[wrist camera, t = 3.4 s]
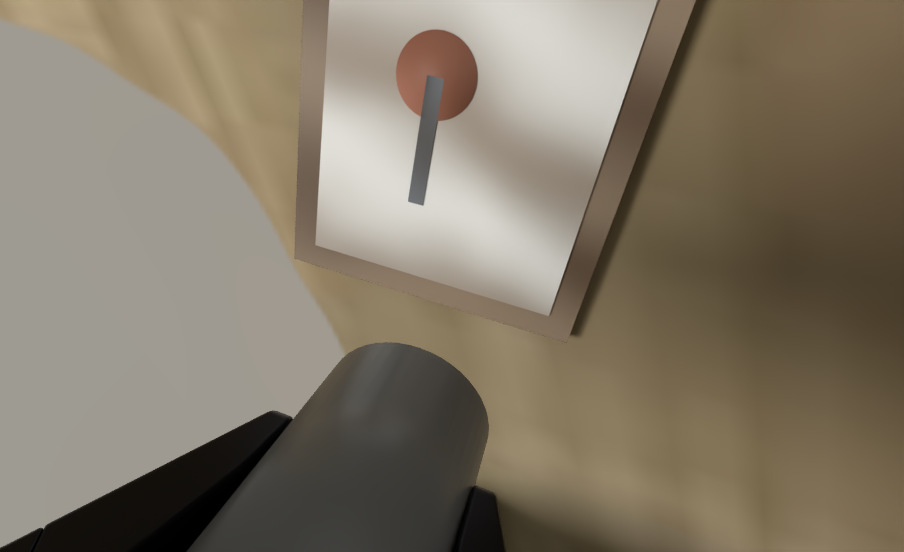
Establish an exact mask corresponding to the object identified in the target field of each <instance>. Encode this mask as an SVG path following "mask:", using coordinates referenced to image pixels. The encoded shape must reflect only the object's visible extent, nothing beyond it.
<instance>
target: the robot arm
mask: <svg viewBox="0 0 904 552" xmlns="http://www.w3.org/2000/svg"><path fill="white" fill-rule="evenodd" d="M292 420H293V419H292V417H291V416H288V415H286V414H283V413H280V412H278V411H269V412H267V413H265V414H263V415H261V416H259V417H257V418H255V419H253V420H251V421H250V422H247V423H245V424H243V425H241V426H239V427H237V428H235V429H234V430H231V431H230V432H228V433H226V434H224V435H222V436H220V437H218V438H216V439H214V440H212V441H210V442H208V443H206V444H204V445H202V446H200V447H198V448H196V449H194V450H192V451H190V452H188V453H186V454H185V455H183V456H180V457H178V458H176V459H175V460H173V461H171V462H169V463H167V464H165V465H163V466H161V467H159V468H157V469H155V470H153V471H151V472H149V473H147V474H145V475H143V476H141V477H139V478H137V479H135V480H134V481H131V482H129V483H127V484H125V485H123V486H122V487H119V488H118V489H116V490H114V491H112V492H110V493H108V494H106V495H104V496H102V497H100V498H98V499H96V500H94V501H92V502H90V503H88V504H86V505H84V506H82V507H80V508H78V509H76V510H74V511H72V512H70V513H68V514H66V515H64V516H62V517H61V518H59V519H57V520H55V521H53V522H51V523H49V524H47V525H46V526H45V528H44V529H43V528H39V529H37V530H35V531H33V532H31V533H29V534H27V535H25V536H23V537H21V538H19V539H17V540H15V541H13V542H11V543H9V544H7V545H5V546H3V547H1V548H0V552H187V550H188V549H189V548H190V547H191V545H192V544H193V543H194V542H195V540H196V539H197V538H198V537H199V535H200V534H201V533H202V532H203V530H204V529H205V528H206V527H207V525H208V524H209V523H210V522H211V521H212V519H213V518H214V517H215V516H216V514H217V513H218V512H219V511H220V509H221V508H222V507H223V506H224V504H225V503H226V502H227V501H228V499H229V498H230V497H231V496H232V494H233V493H234V492H235V491H236V489H237V488H238V487H239V486H240V485H241V483H242V482H243V481H244V480H245V478H246V477H247V476H248V475H249V473H250V472H251V471H252V470H253V468H254V467H255V466H256V465H257V463H258V462H259V461H260V460H261V458H262V457H263V456H264V455H265V453H266V452H267V451H268V450H269V449H270V447H271V446H272V445H273V444H274V442H275V441H276V440H277V439H278V437H279V436H280V435H281V434H282V432H283V431H284V430H285V429H286V427H287V426H288V425H289V424H290V422H291V421H292ZM454 552H506V547H505V542H504V536H503V531H502V525H501V519H500V514H499V508H498V503H497V498H496V495H495V494H494V493H493V492H491V491H489V490H486V489H483V488H481V487H478V486H474V487H472V489H471V493H470V496H469V500H468V503H467V507H466V510H465V514H464V518H463V521H462V525H461V528H460V532H459V535H458V539H457V543H456V546H455V550H454Z"/></svg>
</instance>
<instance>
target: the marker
mask: <svg viewBox="0 0 904 552" xmlns="http://www.w3.org/2000/svg"><path fill="white" fill-rule="evenodd" d="M488 432H489V424H488V417H487V413H486V409H485V406H484V404H483V402H482V400H481V398H480V396H479V394H478V393H477V391H476V389H475V388H474V387H473V385H472V384H471V383H470V382H469V380H468V379H467V378H466V377H465V376H464V375H463V374H462V373H461V372H460V371H458V370H457V369H456V368H455V367H454V366H452V365H451V364H450V363H448V362H447V361H445V360H444V359H442V358H440V357H438V356H437V355H435V354H433V353H431V352H428V351H426V350H423V349H421V348H418V347H414V346H411V345H406V344H400V343H387V342H385V343H374V344H370V345H365V346H363V347H360V348H357V349H355V350H354V351H352V352H350V353H348V354H347V355H346V356H345V357H344V358H342V360H341V361H340V362H339V363H338V364H337V365H336V367H335V368H334V369H333V370H332V372H331V373H330V374H329V375H328V377H327V378H326V379H325V380H324V381H323V383H322V384H321V385H320V386H319V388H318V389H317V390H316V392H315V393H314V394H313V395H312V396H311V398H310V399H309V400H308V401H307V403H306V404H305V405H304V406H303V408H302V409H301V410H300V411H299V413H298V414H297V415H296V416H295V417H294V419H293V420H292V421H291V422H290V424H289V425H288V426H287V427H286V429H285V430H284V431H283V432H282V434H281V435H280V436H279V437H278V439H277V440H276V441H275V442H274V444H273V445H272V446H271V447H270V449H269V450H268V451H267V452H266V453H265V455H264V456H263V457H262V458H261V460H260V461H259V462H258V463H257V465H256V466H255V467H254V468H253V470H252V471H251V472H250V473H249V475H248V476H247V477H246V478H245V480H244V481H243V482H242V483H241V485H240V486H239V487H238V488H237V489H236V491H235V492H234V493H233V494H232V496H231V497H230V498H229V499H228V501H227V502H226V503H225V504H224V506H223V507H222V508H221V509H220V511H219V512H218V513H217V514H216V516H215V517H214V518H213V519H212V521H211V522H210V523H209V524H208V525H207V527H206V528H205V529H204V530H203V532H202V533H201V534H200V535H199V537H198V538H197V539H196V540H195V542H194V543H193V544H192V545H191V547H190V548H189V549H188V550H187V552H454V550H455V546H456V543H457V539H458V535H459V532H460V528H461V525H462V521H463V518H464V514H465V510H466V507H467V503H468V500H469V496H470V493H471V489H472V487H474V486H475V483H476V479H477V476H478V472H479V468H480V465H481V461H482V458H483V454H484V450H485V447H486V443H487V439H488Z"/></svg>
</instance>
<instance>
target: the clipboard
mask: <svg viewBox="0 0 904 552" xmlns="http://www.w3.org/2000/svg"><path fill="white" fill-rule="evenodd" d="M695 1H696V0H303V26H302V54H301V83H300V112H299V141H298V170H297V199H296V227H295V256H294V258H295V259H298V260H301V261H304V262H307V263H311V264H314V265H317V266H320V267H324V268H327V269H330V270H333V271H336V272H340V273H343V274H346V275H349V276H352V277H356V278H359V279H362V280H365V281H368V282H372V283H375V284H378V285H381V286H385V287H388V288H391V289H394V290H397V291H401V292H404V293H407V294H410V295H413V296H417V297H420V298H423V299H426V300H429V301H433V302H436V303H439V304H442V305H446V306H449V307H452V308H455V309H458V310H462V311H465V312H468V313H471V314H474V315H478V316H481V317H484V318H487V319H490V320H494V321H497V322H500V323H503V324H507V325H510V326H513V327H516V328H519V329H523V330H526V331H529V332H532V333H535V334H539V335H542V336H545V337H548V338H552V339H555V340H558V341H561V342H564V343H567V341H568V338H569V335H570V333H571V330H572V327H573V325H574V322H575V320H576V317H577V314H578V312H579V309H580V306H581V304H582V301H583V298H584V296H585V293H586V290H587V288H588V285H589V282H590V280H591V277H592V274H593V272H594V269H595V266H596V264H597V261H598V259H599V256H600V253H601V251H602V248H603V245H604V243H605V240H606V237H607V235H608V232H609V229H610V227H611V224H612V221H613V219H614V216H615V213H616V211H617V208H618V205H619V203H620V200H621V198H622V195H623V192H624V190H625V187H626V184H627V182H628V179H629V176H630V174H631V171H632V168H633V166H634V163H635V160H636V158H637V155H638V152H639V150H640V147H641V145H642V142H643V139H644V137H645V134H646V131H647V129H648V126H649V123H650V121H651V118H652V115H653V113H654V110H655V107H656V105H657V102H658V99H659V97H660V94H661V91H662V89H663V86H664V84H665V81H666V78H667V76H668V73H669V70H670V68H671V65H672V62H673V60H674V57H675V54H676V52H677V49H678V46H679V44H680V41H681V38H682V36H683V33H684V30H685V28H686V25H687V23H688V20H689V17H690V15H691V12H692V9H693V7H694V4H695Z"/></svg>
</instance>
